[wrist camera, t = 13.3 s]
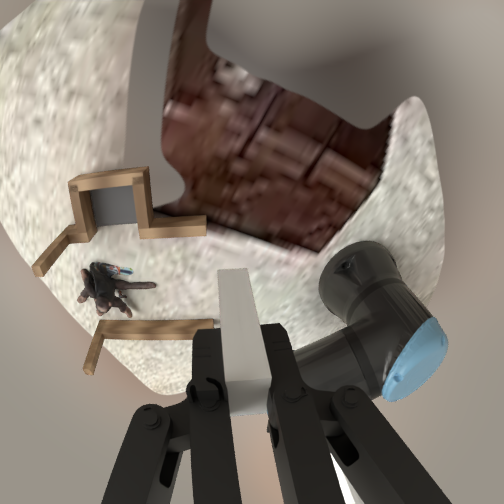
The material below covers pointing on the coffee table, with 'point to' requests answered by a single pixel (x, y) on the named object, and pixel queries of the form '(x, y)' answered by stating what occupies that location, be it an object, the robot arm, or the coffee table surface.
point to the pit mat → (114, 205)
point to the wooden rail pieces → (147, 230)
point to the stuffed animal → (108, 287)
